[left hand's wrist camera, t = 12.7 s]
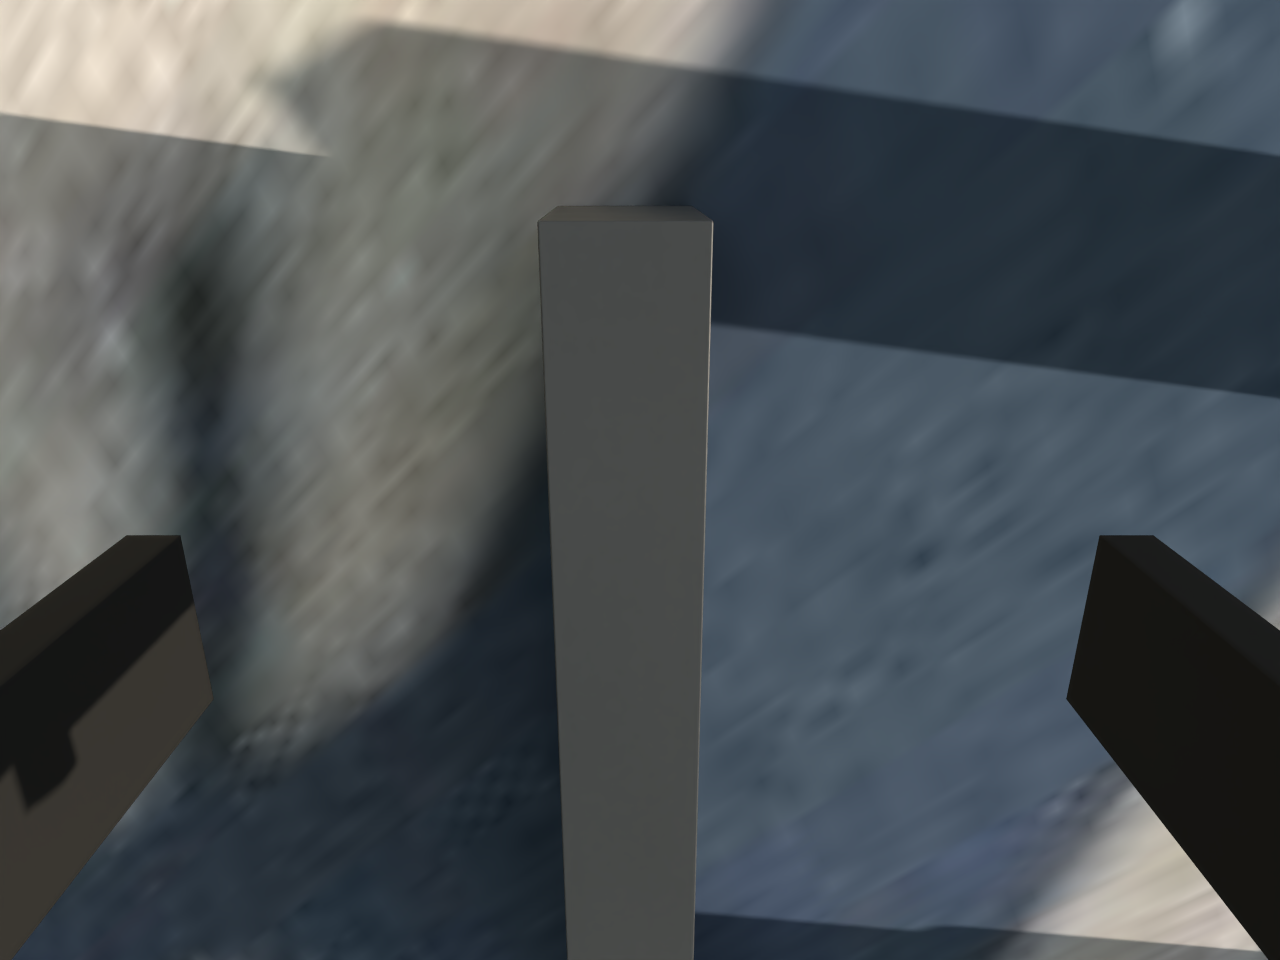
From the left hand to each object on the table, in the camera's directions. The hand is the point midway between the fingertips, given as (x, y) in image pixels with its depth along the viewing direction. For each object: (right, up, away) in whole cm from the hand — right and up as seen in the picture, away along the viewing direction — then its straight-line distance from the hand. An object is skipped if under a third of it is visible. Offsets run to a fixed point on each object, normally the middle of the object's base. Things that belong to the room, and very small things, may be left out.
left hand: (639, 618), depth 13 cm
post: (0, -14, +28) cm, 31 cm away
